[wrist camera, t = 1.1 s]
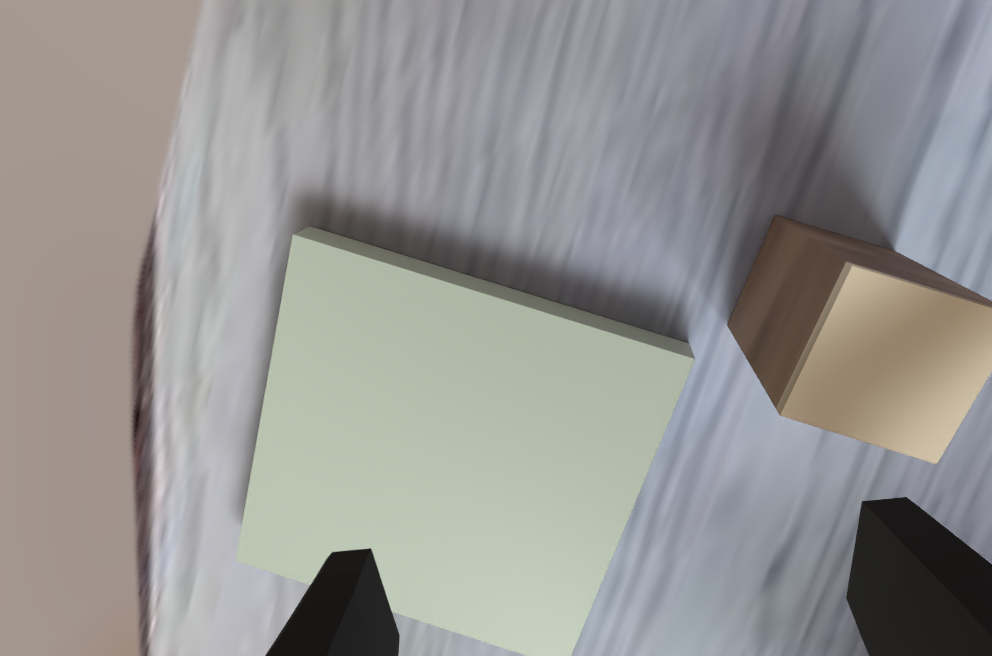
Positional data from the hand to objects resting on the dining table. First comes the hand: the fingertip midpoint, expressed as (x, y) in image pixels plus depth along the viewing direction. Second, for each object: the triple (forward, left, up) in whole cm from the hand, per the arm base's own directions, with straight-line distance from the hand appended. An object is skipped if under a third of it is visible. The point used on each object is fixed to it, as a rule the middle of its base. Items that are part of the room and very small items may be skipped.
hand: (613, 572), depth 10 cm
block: (-6, -2, -14) cm, 16 cm away
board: (+4, +8, -14) cm, 17 cm away
